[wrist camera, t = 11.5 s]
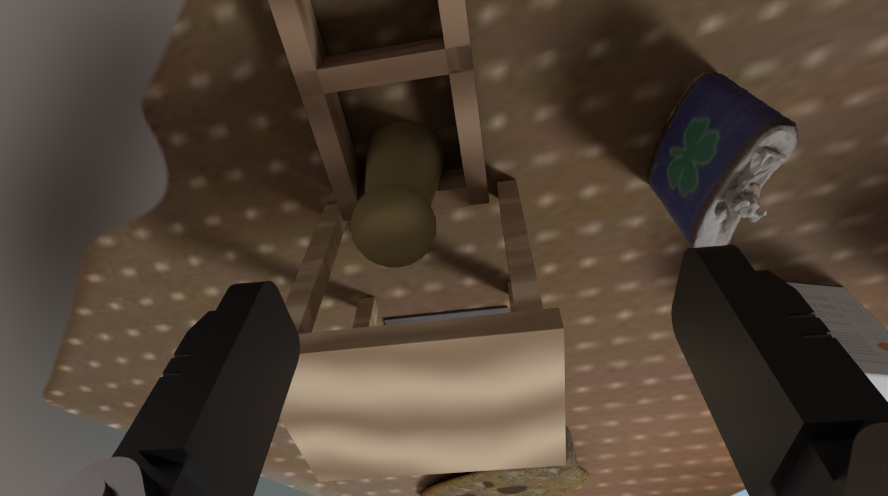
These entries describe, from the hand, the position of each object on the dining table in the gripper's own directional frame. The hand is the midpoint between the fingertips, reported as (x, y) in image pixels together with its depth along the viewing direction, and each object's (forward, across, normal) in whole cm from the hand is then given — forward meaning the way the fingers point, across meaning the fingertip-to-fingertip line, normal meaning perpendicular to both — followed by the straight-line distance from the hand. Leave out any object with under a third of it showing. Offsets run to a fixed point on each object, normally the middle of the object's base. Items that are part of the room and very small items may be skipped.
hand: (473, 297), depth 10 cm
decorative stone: (+26, 0, +58) cm, 64 cm away
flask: (+27, -15, +10) cm, 32 cm away
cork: (+26, +6, +10) cm, 29 cm away
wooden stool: (+26, +5, +23) cm, 35 cm away
